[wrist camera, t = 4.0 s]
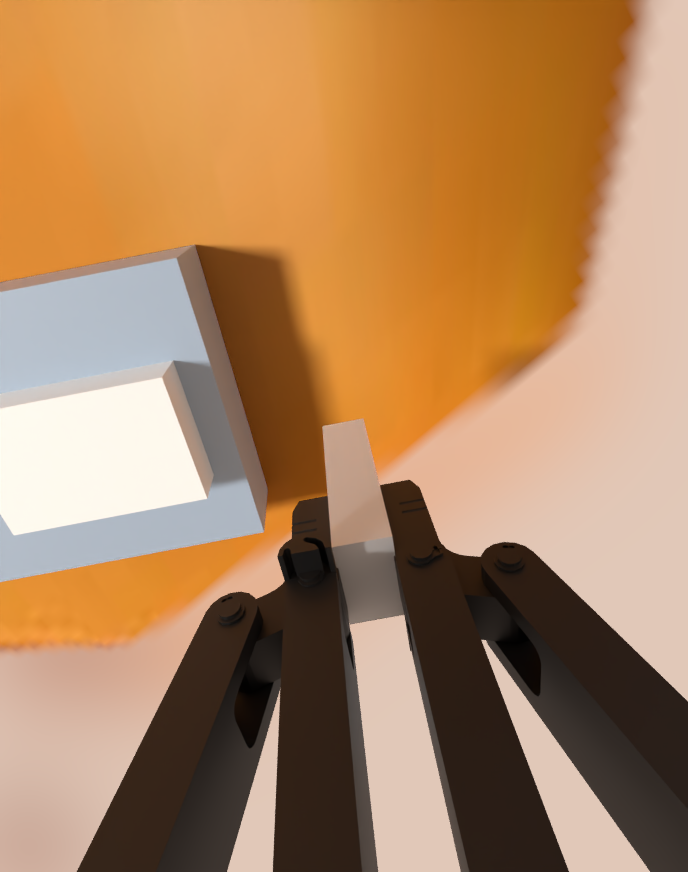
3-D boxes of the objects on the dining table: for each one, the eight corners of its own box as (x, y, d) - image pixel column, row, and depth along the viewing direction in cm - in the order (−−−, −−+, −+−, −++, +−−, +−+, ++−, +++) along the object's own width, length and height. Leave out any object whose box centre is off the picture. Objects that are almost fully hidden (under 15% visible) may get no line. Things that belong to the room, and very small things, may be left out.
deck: (-90, 557, 30) (-142, 608, 26) (-266, 334, 23) (-368, 363, 20) (267, 489, 30) (263, 531, 26) (194, 244, 23) (176, 257, 19)
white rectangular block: (34, 509, 24) (13, 535, 22) (-31, 399, 21) (-60, 419, 20) (213, 474, 24) (207, 498, 22) (172, 360, 21) (161, 377, 20)
